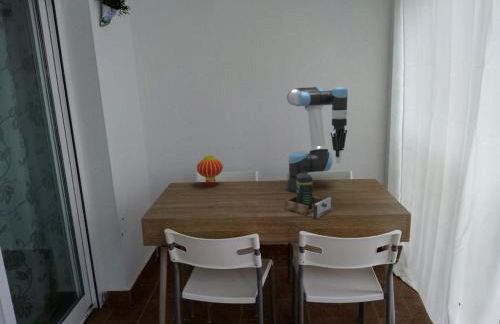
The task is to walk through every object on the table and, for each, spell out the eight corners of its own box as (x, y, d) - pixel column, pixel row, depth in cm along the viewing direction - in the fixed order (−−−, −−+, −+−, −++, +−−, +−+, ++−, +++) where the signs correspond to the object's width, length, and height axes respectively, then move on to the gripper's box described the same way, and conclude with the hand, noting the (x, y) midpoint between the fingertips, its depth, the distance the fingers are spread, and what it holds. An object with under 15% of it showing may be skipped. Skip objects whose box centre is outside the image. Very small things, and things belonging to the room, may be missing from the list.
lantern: (199, 190, 233) (196, 144, 225) (197, 183, 249) (193, 140, 242) (225, 187, 236) (223, 142, 229) (221, 180, 253) (218, 138, 246)
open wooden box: (284, 209, 195) (284, 198, 194) (301, 201, 206) (301, 190, 204) (316, 218, 181) (316, 206, 180) (332, 209, 192) (333, 198, 190)
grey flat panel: (315, 215, 183) (315, 203, 181) (329, 207, 192) (329, 196, 190) (318, 216, 181) (318, 204, 180) (332, 208, 190) (332, 197, 189)
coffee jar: (314, 209, 191) (314, 175, 187) (299, 210, 190) (299, 177, 186) (308, 203, 200) (308, 171, 196) (294, 204, 199) (294, 172, 195)
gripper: (339, 119, 178) (338, 166, 184) (352, 116, 187) (351, 161, 193) (326, 119, 183) (325, 164, 189) (339, 116, 192) (338, 159, 198)
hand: (338, 162), depth 191 cm, fingers closed
